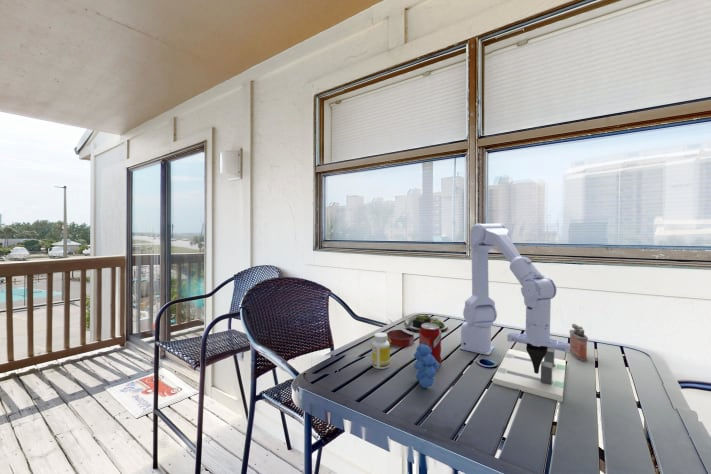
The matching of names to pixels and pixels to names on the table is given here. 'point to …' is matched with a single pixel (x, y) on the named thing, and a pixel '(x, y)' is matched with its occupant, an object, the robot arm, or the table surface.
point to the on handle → (549, 356)
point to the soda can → (431, 339)
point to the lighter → (578, 343)
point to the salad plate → (418, 320)
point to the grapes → (425, 365)
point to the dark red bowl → (400, 337)
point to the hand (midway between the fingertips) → (536, 372)
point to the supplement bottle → (380, 351)
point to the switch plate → (530, 375)
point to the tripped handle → (546, 372)
